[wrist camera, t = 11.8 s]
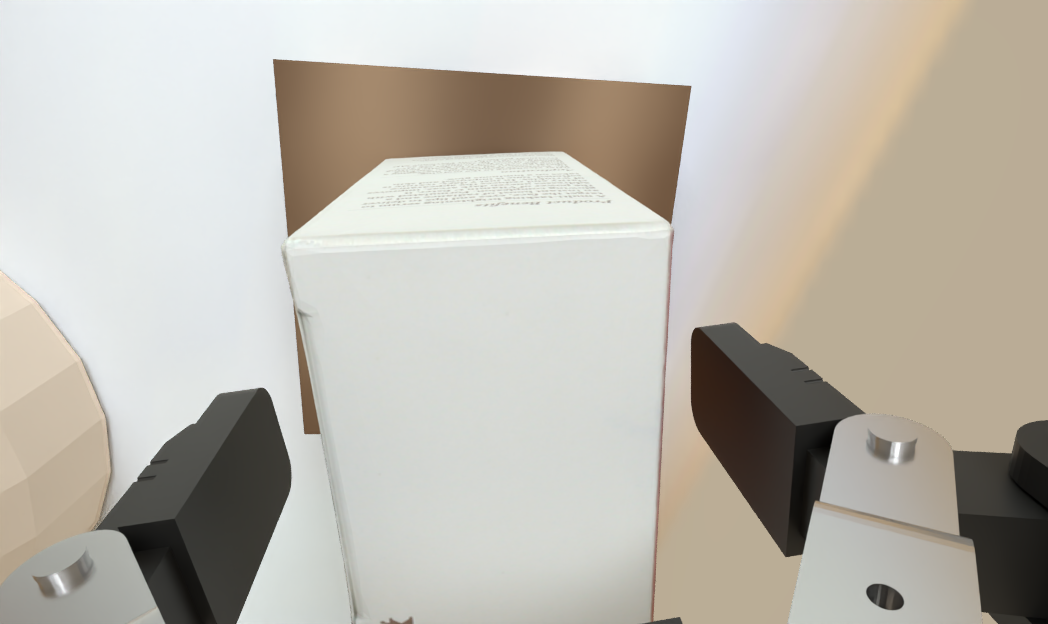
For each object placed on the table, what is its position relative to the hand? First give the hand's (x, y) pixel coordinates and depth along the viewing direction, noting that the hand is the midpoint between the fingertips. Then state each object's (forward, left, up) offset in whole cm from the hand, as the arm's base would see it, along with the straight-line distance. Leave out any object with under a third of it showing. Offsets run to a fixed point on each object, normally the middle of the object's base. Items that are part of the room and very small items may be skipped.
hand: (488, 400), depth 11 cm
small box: (0, 0, -9) cm, 9 cm away
